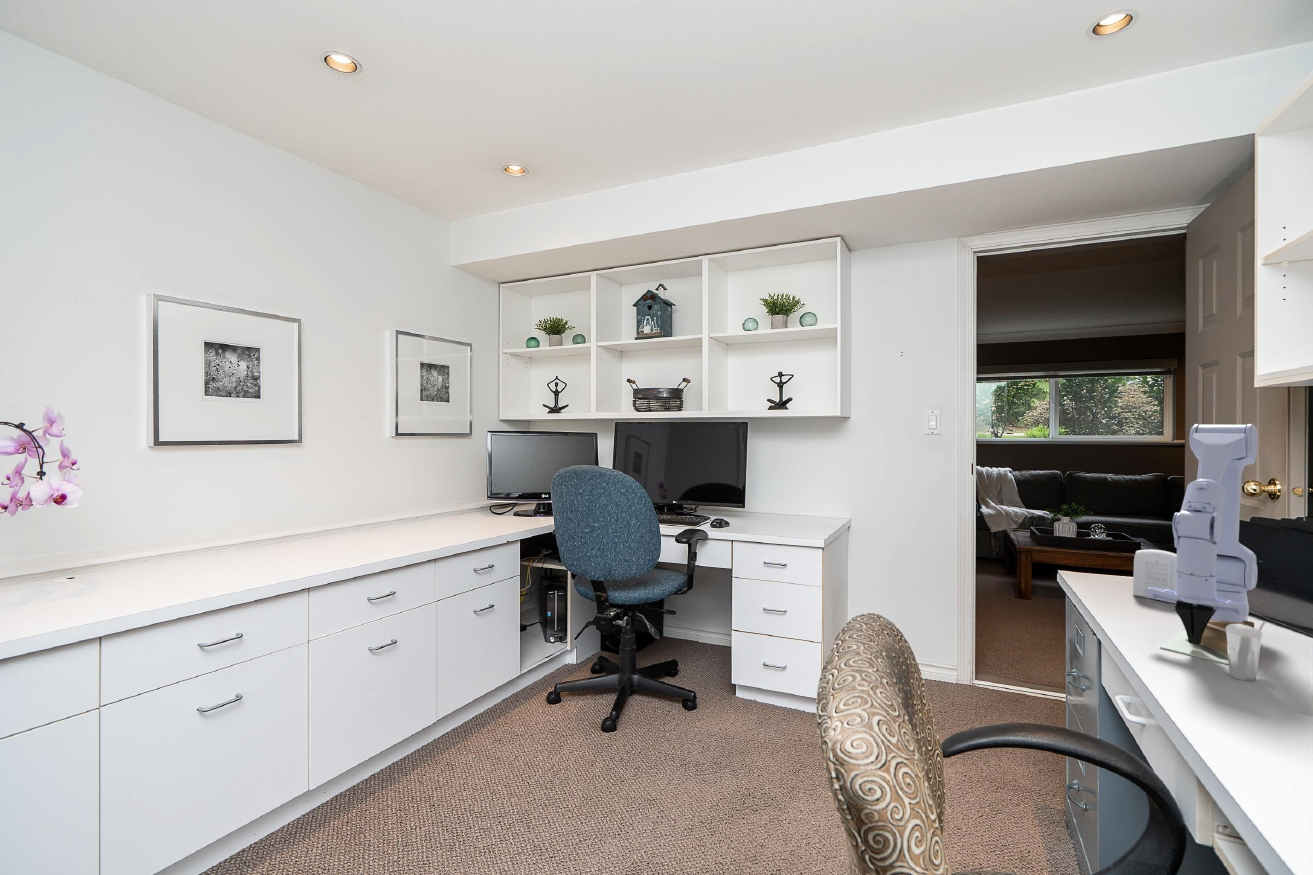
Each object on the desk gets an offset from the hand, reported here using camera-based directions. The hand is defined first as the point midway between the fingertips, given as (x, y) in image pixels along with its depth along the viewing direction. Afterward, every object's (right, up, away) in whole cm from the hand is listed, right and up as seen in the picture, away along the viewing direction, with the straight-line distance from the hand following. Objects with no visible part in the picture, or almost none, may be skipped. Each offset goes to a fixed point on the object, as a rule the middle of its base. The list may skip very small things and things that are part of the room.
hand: (1194, 642), depth 115 cm
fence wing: (+4, -1, -1) cm, 4 cm away
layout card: (+4, -2, +2) cm, 5 cm away
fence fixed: (+8, -2, +3) cm, 9 cm away
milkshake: (-2, -2, -12) cm, 12 cm away
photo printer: (+22, -1, +34) cm, 41 cm away
